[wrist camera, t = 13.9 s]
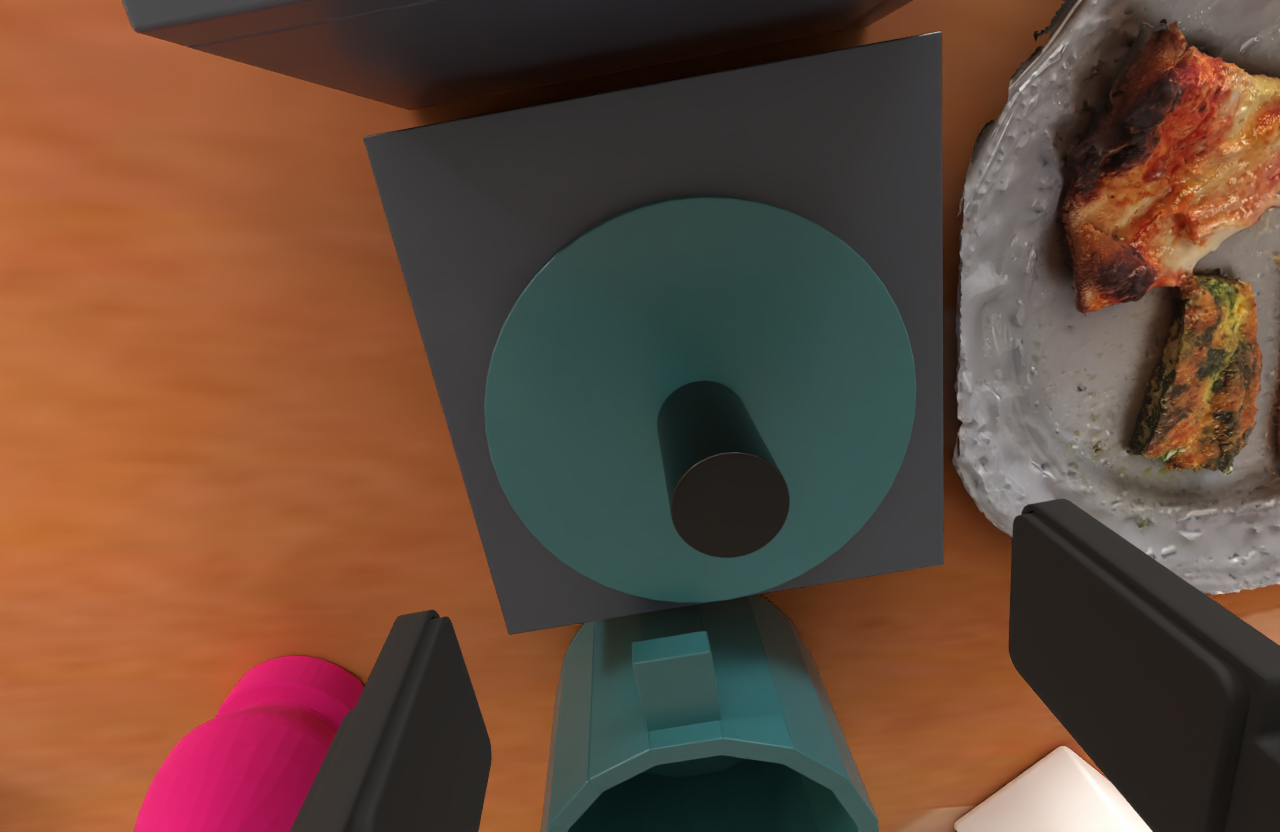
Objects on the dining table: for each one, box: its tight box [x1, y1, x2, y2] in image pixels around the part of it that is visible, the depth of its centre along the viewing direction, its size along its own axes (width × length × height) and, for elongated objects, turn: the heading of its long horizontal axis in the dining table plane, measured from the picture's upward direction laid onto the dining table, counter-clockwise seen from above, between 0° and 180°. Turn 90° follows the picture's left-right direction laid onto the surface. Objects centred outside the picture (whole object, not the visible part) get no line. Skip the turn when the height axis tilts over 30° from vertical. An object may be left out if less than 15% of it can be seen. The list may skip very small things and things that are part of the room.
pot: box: [541, 595, 879, 832], centre depth 26 cm, size 11×17×8 cm
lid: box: [484, 196, 916, 603], centre depth 17 cm, size 12×12×6 cm
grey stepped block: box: [122, 0, 944, 635], centre depth 16 cm, size 15×26×13 cm, turn 10°
